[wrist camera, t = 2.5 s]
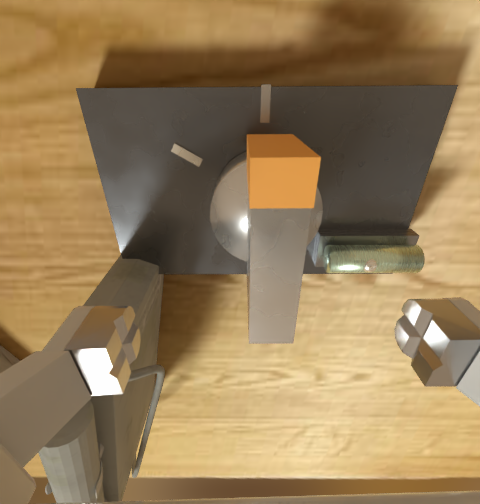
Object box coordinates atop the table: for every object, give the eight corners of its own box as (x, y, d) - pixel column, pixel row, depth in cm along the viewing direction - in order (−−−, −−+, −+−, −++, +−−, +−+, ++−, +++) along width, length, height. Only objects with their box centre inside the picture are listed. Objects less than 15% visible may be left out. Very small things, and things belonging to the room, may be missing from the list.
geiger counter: (-45, 421, 9) (54, 579, 22) (139, 441, 10) (133, 584, 23) (115, 236, 21) (120, 408, 34) (195, 251, 22) (170, 414, 35)
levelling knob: (302, 252, 19) (337, 344, 12) (217, 252, 19) (204, 344, 12) (319, 126, 15) (387, 156, 8) (210, 127, 15) (184, 158, 8)
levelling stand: (438, 83, 16) (512, 80, 11) (383, 259, 22) (418, 300, 18) (93, 86, 16) (38, 84, 12) (135, 260, 22) (110, 301, 18)
